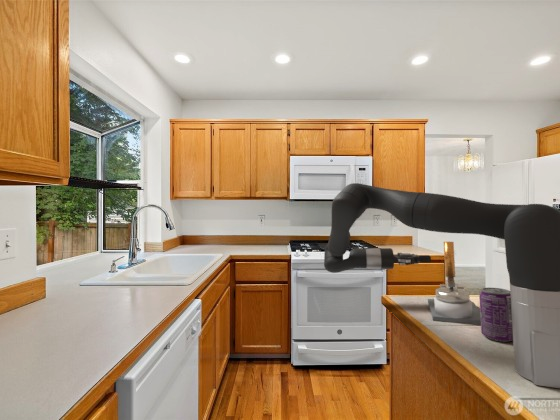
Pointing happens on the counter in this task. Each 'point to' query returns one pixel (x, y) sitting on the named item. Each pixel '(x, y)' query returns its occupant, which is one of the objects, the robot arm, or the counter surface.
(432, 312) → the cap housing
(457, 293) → the hub and bar
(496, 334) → the beverage can
